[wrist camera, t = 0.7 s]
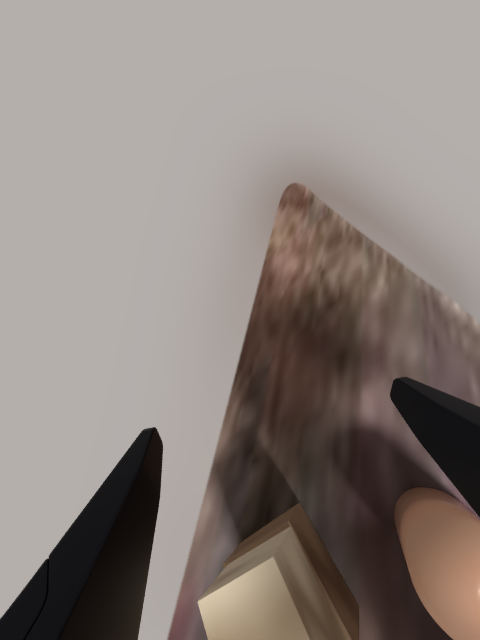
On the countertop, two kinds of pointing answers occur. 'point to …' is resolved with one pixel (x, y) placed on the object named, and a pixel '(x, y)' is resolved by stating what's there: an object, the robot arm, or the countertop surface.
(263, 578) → the maple block
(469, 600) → the tan rounded piece
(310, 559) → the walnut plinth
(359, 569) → the countertop surface
